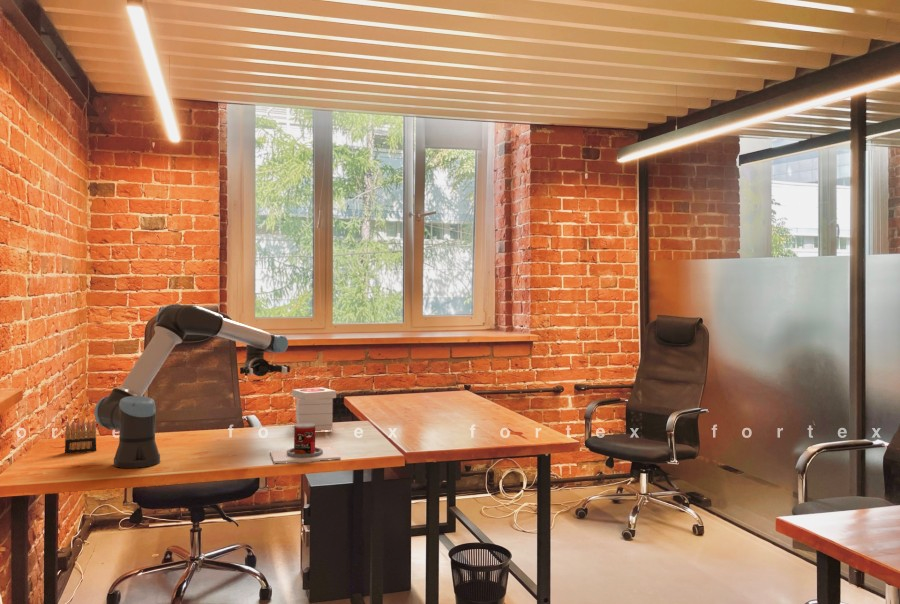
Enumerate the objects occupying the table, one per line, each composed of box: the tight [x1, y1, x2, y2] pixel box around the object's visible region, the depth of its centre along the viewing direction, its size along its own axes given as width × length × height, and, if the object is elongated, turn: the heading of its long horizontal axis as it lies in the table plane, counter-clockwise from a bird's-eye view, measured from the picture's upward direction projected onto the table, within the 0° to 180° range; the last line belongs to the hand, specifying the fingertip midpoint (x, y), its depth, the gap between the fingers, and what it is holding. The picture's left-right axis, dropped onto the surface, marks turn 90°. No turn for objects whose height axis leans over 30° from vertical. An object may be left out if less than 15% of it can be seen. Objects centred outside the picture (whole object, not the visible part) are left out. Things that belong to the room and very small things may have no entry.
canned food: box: [293, 423, 316, 454], centre depth 258 cm, size 8×8×11 cm
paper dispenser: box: [291, 387, 337, 431], centre depth 317 cm, size 19×30×18 cm, turn 15°
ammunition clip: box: [64, 419, 97, 454], centre depth 262 cm, size 11×2×12 cm, turn 118°
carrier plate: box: [269, 446, 342, 465], centre depth 258 cm, size 24×18×2 cm
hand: (269, 371), depth 276 cm, fingers open, 13 cm apart
